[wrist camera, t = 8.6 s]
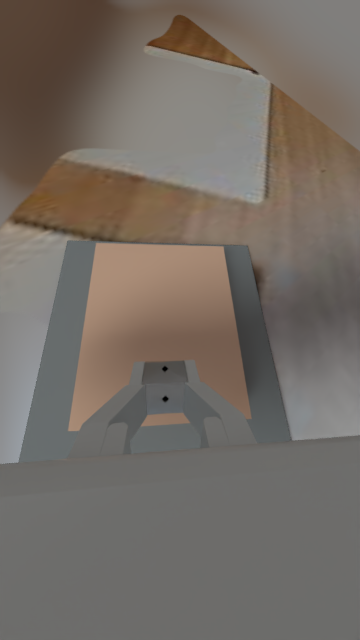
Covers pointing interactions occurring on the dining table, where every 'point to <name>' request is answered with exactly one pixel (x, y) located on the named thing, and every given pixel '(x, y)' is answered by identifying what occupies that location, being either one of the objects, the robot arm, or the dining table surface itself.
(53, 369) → the rubber mat
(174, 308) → the terracotta tile
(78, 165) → the dining table surface
